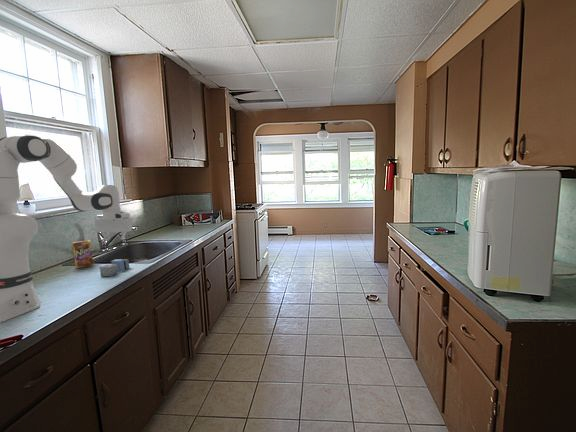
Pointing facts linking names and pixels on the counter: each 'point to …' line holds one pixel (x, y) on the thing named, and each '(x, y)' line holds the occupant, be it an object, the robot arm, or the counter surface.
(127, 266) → the block
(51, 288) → the counter surface
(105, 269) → the sliding jaw
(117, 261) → the blue block
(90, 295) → the counter surface
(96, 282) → the counter surface
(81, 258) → the candy box
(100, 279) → the counter surface
